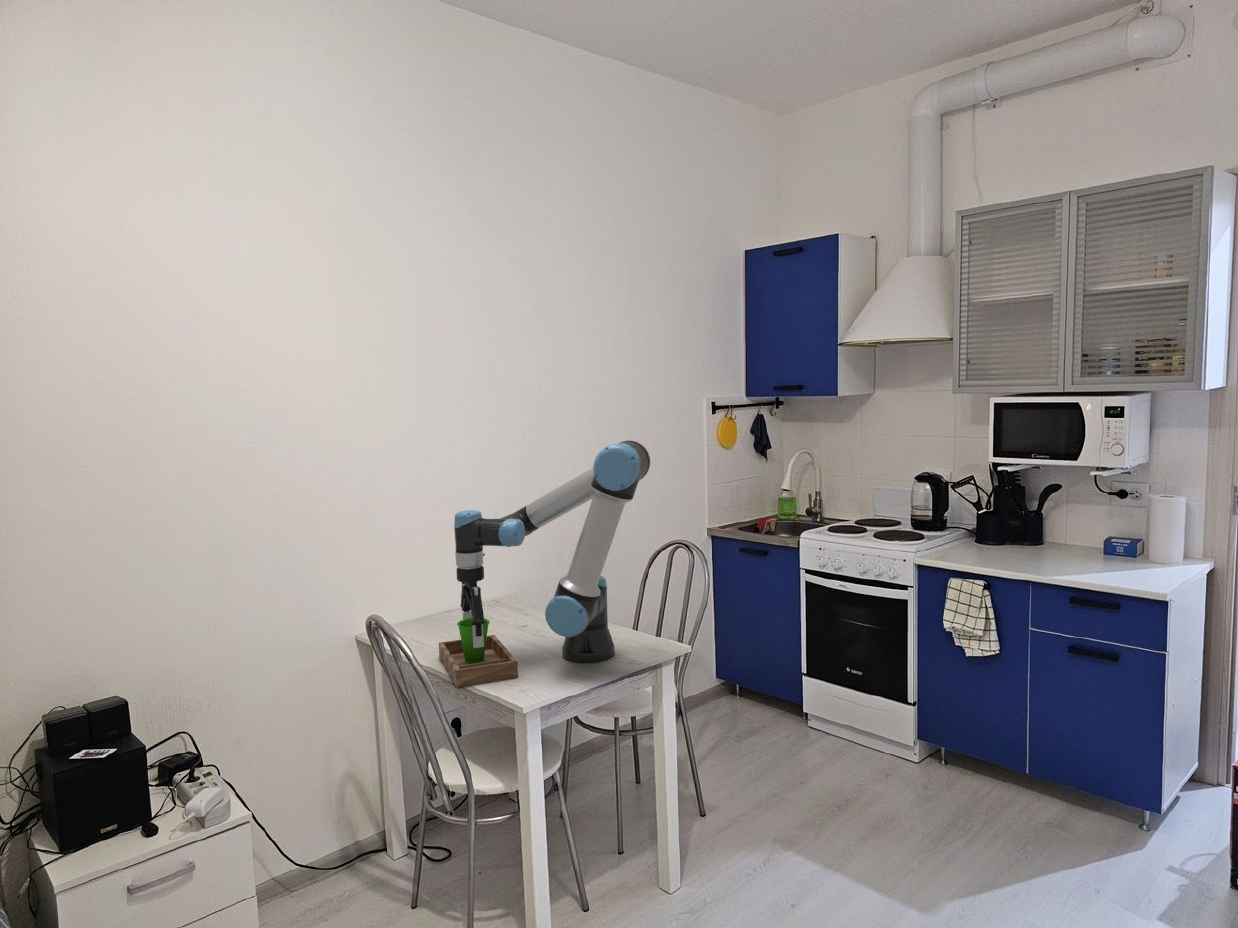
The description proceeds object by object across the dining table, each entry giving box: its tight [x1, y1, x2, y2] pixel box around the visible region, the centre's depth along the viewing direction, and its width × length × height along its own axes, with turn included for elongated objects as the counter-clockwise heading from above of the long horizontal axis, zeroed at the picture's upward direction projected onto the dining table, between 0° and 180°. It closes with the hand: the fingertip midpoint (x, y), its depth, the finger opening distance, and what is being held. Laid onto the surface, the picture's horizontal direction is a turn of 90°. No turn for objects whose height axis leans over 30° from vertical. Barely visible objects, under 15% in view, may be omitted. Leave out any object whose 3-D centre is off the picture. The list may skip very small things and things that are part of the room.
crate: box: [438, 634, 519, 689], centre depth 227 cm, size 26×16×4 cm, turn 22°
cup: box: [456, 618, 491, 663], centre depth 230 cm, size 9×9×11 cm
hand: (473, 640), depth 229 cm, fingers open, 13 cm apart
